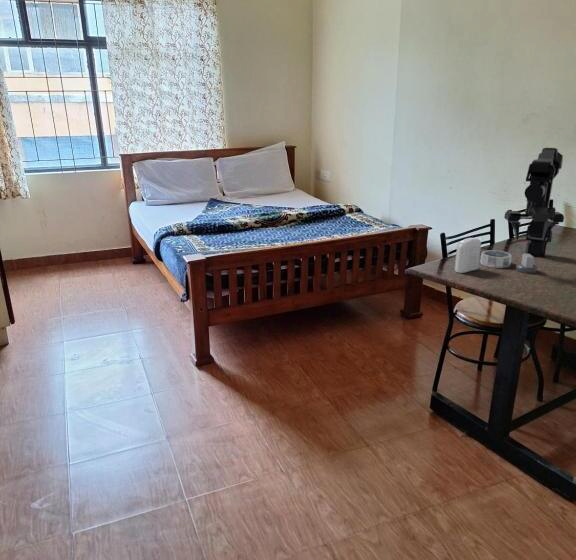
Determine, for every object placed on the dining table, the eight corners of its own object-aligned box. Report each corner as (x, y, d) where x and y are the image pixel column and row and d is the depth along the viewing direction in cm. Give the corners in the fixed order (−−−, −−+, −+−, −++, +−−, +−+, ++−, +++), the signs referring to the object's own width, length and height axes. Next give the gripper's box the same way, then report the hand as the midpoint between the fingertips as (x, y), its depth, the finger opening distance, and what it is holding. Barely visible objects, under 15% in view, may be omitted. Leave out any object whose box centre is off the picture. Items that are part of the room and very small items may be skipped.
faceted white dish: (505, 260, 200) (506, 250, 199) (513, 268, 190) (514, 258, 189) (477, 259, 201) (478, 249, 200) (484, 267, 191) (485, 257, 190)
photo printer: (470, 266, 192) (473, 235, 188) (479, 269, 188) (483, 237, 184) (452, 271, 186) (455, 239, 183) (461, 274, 183) (465, 241, 179)
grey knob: (532, 268, 190) (535, 253, 188) (539, 274, 183) (541, 258, 181) (513, 267, 191) (515, 252, 189) (519, 273, 184) (521, 257, 182)
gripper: (516, 200, 172) (509, 244, 177) (573, 201, 170) (565, 246, 175) (506, 195, 182) (501, 237, 187) (561, 196, 180) (554, 238, 185)
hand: (530, 239), depth 183 cm, fingers open, 9 cm apart
